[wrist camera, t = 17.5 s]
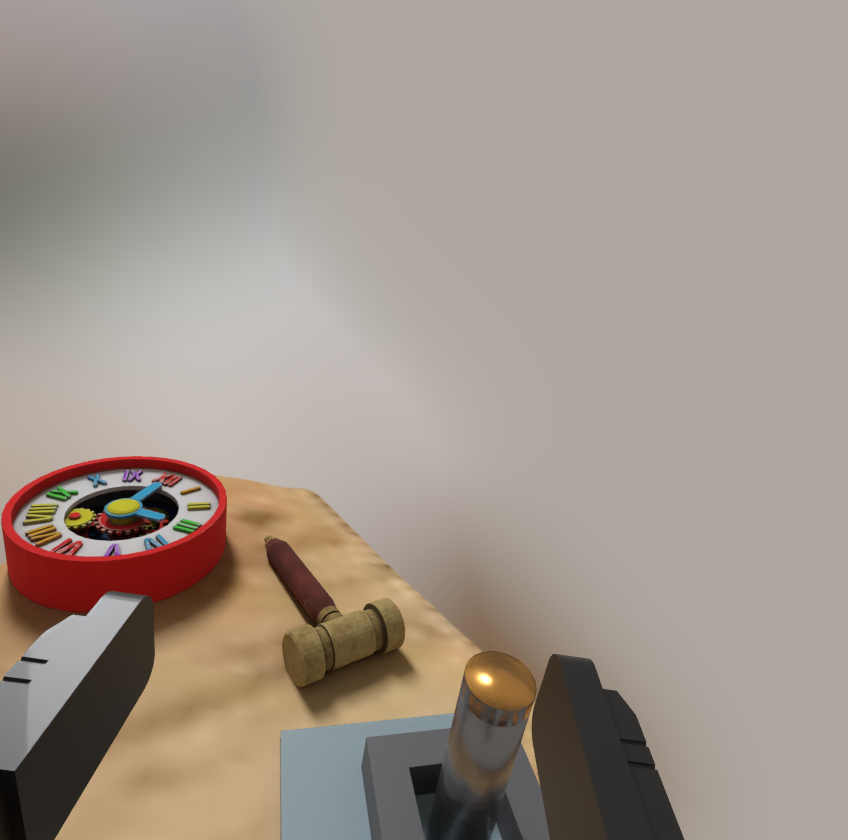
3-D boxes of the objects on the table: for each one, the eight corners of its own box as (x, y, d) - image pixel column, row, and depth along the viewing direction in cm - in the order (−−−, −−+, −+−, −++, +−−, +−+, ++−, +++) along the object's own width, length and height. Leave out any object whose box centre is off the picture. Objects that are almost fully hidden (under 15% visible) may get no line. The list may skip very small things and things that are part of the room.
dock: (281, 1101, 25) (287, 1058, 24) (280, 740, 41) (283, 701, 40) (621, 1005, 30) (643, 964, 29) (502, 716, 46) (512, 681, 45)
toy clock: (-59, 527, 48) (106, 442, 67) (-48, 581, 51) (109, 484, 69) (147, 585, 46) (259, 480, 64) (149, 639, 48) (257, 522, 66)
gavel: (222, 529, 59) (309, 510, 65) (222, 565, 60) (307, 544, 66) (304, 655, 43) (409, 616, 49) (302, 700, 45) (403, 657, 51)
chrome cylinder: (435, 880, 33) (478, 714, 28) (419, 812, 37) (455, 653, 32) (495, 868, 34) (548, 706, 29) (475, 803, 38) (519, 648, 33)
